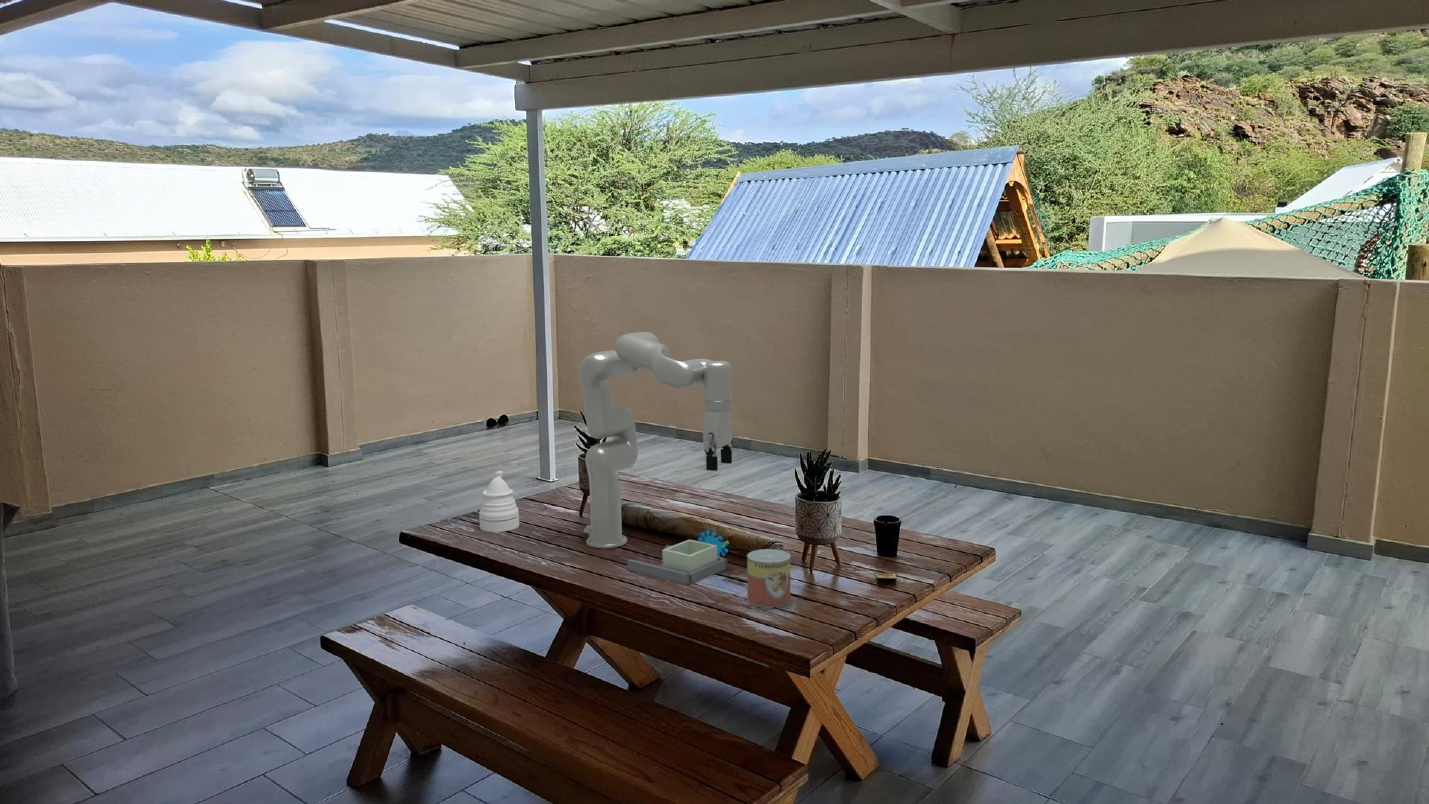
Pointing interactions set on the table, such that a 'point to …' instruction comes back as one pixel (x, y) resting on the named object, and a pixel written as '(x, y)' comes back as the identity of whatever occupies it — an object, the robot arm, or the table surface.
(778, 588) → the canned food
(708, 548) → the box
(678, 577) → the bay
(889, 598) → the table surface
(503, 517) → the honey pot
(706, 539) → the gear
